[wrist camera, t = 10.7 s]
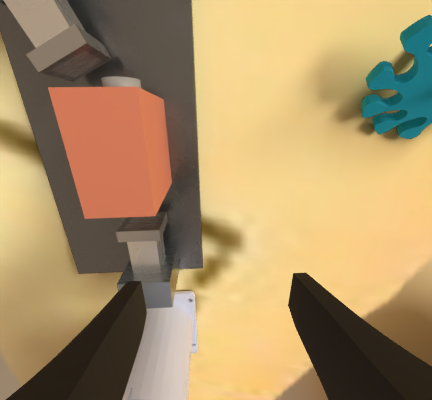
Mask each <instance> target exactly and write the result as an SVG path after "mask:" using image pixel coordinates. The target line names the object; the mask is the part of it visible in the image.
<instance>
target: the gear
mask: <svg viewBox="0 0 432 400" xmlns="http://www.w3.org/2000/svg"><path fill="white" fill-rule="evenodd" d="M400 40H401V43H402V45H403V48H404V50H405V51H406V52H409V53H412V54H413V55H414V64H413V66H412V67H411V69H410V70H408V71H407V72H406V73H404V74H401V75H394V71H393V68H392V65H391V63H389V62H387V61H383V62H380V63H379V64H378V65H377V66H376V67H375V68H374V69H373V70H372V71H371V72H370V73H369V75H368V76H367V77H366V81H367V85H368V88H369V89H371V90H379V89H392V90H395V91H397V92H398V93H397V94H396V95H394V96H393V97H390V98H382V97H380V96H379V95H376V94H372V95H368V96H366V97H365V98H364V99H363V101H362V104H361V112H362V117H364V118H368V117H372V116H374V115H377V114H379V113H382V112H386V111H392V110H400V111H398V112H396V113H385V114H380V115H377V116H375V117H374V118H372V121H373V125H374V129H375V131H376V132H377V133H378V134H382V133H385V132H387V131H389V130H390V129H392V128H393V127H395V126H397V125H398V126H397V131H398V134H399V136H400V137H402V138H407V139H412V138H414V137H416V136H418V135H419V134H420V133H421V131H422V130H423V129H424V128H425V127H427V126H428V125H430V124H431V123H432V46H431V47H429V46H430V44H431V43H432V16H431V15H428V16H426V17H424V18H422V19H420V20H418V21H417V22H415V23H414V24H412V25H411V26H409V27H408V28H407V29H405V30H404V31H403V32H401V35H400ZM408 120H409V121H408ZM399 124H400V125H399Z"/></svg>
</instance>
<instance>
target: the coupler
mask: <svg viewBox="0 0 432 400" xmlns="http://www.w3.org/2000/svg"><path fill="white" fill-rule="evenodd" d="M101 81H102V86H103V87H48V90H49V93H50V97H51V100H52V104H53V107H54V111H55V114H56V118H57V122H58V125H59V129H60V132H61V136H62V139H63V143H64V146H65V150H66V154H67V157H68V161H69V164H70V168H71V171H72V175H73V178H74V182H75V186H76V189H77V193H78V196H79V200H80V203H81V207H82V210H83V214H84V218H85V219H94V218H121V217H147V216H156V214H157V212H158V210H159V208H160V206H161V204H162V202H163V200H164V198H165V196H166V194H167V192H168V190H169V188H170V186H171V184H172V178H171V168H170V158H169V148H168V138H167V128H166V118H165V108H164V99H162V98H160V97H158V96H156V95H154V94H151V93H149V92H147V91H145V90H143V89H141V83H140V80H139V79H136V78H131V77H119V76H111V77H103V78H101Z"/></svg>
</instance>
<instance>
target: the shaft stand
mask: <svg viewBox="0 0 432 400" xmlns="http://www.w3.org/2000/svg"><path fill="white" fill-rule="evenodd" d="M0 31H1V35H2V38H3V41H4V44H5V47H6V50H7V53H8V56H9V59H10V62H11V65H12V69H13V72H14V75H15V78H16V81H17V84H18V87H19V90H20V93H21V96H22V99H23V102H24V106H25V109H26V112H27V115H28V118H29V121H30V124H31V127H32V130H33V133H34V136H35V140H36V143H37V146H38V149H39V152H40V155H41V158H42V161H43V164H44V167H45V170H46V173H47V177H48V180H49V183H50V186H51V189H52V192H53V195H54V198H55V201H56V204H57V207H58V211H59V214H60V217H61V220H62V223H63V226H64V229H65V232H66V235H67V238H68V241H69V244H70V248H71V251H72V254H73V257H74V260H75V263H76V266H77V269H78V272H79V274H85V273H107V272H123V274H122V276H121V278H120V280H119V282H118V283H117V287H118V291H119V290H120V289H121V288H122V287H123V286H124V285H125V284H126V283H127V282H128V281H141V283H142V288H143V293H144V299H145V304H146V309H150V308H169V307H173V302H174V296H175V290H176V284H177V278H178V272H179V269H195V268H203V253H202V229H201V206H200V182H199V159H198V135H197V111H196V88H195V64H194V41H193V17H192V0H0ZM111 76H119V77H131V78H136V79H139V80H140V83H141V89H143V90H145V91H147V92H149V93H151V94H154V95H156V96H158V97H160V98H162V99H164V108H165V118H166V128H167V138H168V148H169V158H170V168H171V178H172V184H171V186H170V188H169V190H168V192H167V194H166V196H165V198H164V200H163V202H162V204H161V206H160V208H159V210H158V212H157V214H156V216H147V217H121V218H94V219H85V218H84V214H83V210H82V207H81V203H80V200H79V196H78V193H77V189H76V186H75V182H74V178H73V175H72V171H71V168H70V164H69V161H68V157H67V154H66V150H65V146H64V143H63V139H62V136H61V132H60V129H59V125H58V122H57V118H56V114H55V111H54V107H53V104H52V100H51V97H50V93H49V90H48V87H103V86H102V81H101V78H103V77H111Z"/></svg>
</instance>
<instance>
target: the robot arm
mask: <svg viewBox="0 0 432 400" xmlns="http://www.w3.org/2000/svg"><path fill="white" fill-rule="evenodd" d="M288 306H289V309H290V312H291V315H292V318H293V321H294V324H295V327H296V329H297V331H298V334H299V336H300V338H301V340H302V342H303V345H304V347H305V349H306V351H307V353H308V355H309V357H310V360H311V362H312V364H313V366H314V368H315V370H316V372H317V375H318V377H319V379H320V381H321V383H322V385H323V388H324V390H325V393H326V395H327V397H328V400H432V366H430V365H428V364H427V363H425V362H424V361H422V360H421V359H419V358H417V357H416V356H414V355H413V354H411V353H409V352H408V351H407V350H405V349H404V348H402V347H401V346H399V345H398V344H396V343H395V342H393V341H392V340H390V339H389V338H388V337H386V336H385V335H383V334H382V333H381V332H379V331H378V330H376V329H375V328H374V327H372V326H371V325H370V324H368V323H367V322H366V321H364V320H363V319H362V318H360V317H359V316H358V315H357V314H355V313H354V312H353V311H351V310H350V309H349V308H348V307H346V306H345V305H344V304H343V303H342V302H340V301H339V300H338V299H337V298H335V297H334V296H333V295H332V294H331V293H329V292H328V291H327V290H326V289H325V288H323V287H322V286H321V285H320V284H319V283H318V282H316V281H315V280H314V279H313V278H312V277H310V276H309V275H308V274H307V273H293V279H292V285H291V292H290V298H289V304H288ZM197 351H198V337H197V322H196V306H195V294H194V292H193V291H176V292H175V296H174V302H173V307H169V308H150V309H146V304H145V299H144V293H143V288H142V283H141V281H128V282H127V283H126V284H125V285H124V286H123V287H122V288H121V289H120V290H119V292H118V293H117V294H116V295H115V296H114V297H113V298H112V299H111V300H110V302H109V303H108V304H107V305H106V306H105V307H104V308H103V309H102V310H101V311H100V313H99V314H98V315H97V316H96V317H95V318H94V319H93V320H92V321H91V322H90V323H89V324H88V325H87V326H86V327H85V328H84V329H83V330H82V331H81V332H80V333H79V334H78V335H77V336H76V337H75V338H74V339H73V340H72V341H71V342H70V343H69V344H68V345H67V346H66V347H65V348H64V349H63V350H62V351H61V352H60V353H59V354H58V355H57V356H56V357H55V358H54V359H53V360H52V361H50V362H49V363H48V364H47V365H46V366H45V367H44V368H43V369H42V370H40V371H39V372H38V373H37V374H36V375H35V376H34V377H33V378H31V379H30V380H29V381H28V382H27V383H26V384H24V385H23V386H22V387H21V388H20V389H18V390H17V391H16V392H15V393H13V394H12V395H11V396H10V397H9V398H7V399H6V400H188V392H189V375H190V357H191V353H196V352H197Z"/></svg>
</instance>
